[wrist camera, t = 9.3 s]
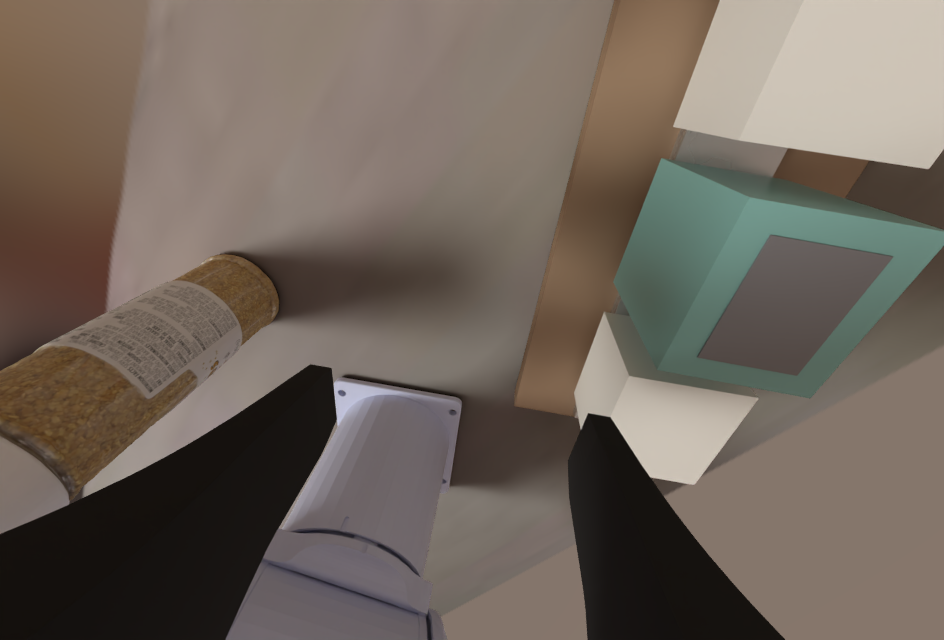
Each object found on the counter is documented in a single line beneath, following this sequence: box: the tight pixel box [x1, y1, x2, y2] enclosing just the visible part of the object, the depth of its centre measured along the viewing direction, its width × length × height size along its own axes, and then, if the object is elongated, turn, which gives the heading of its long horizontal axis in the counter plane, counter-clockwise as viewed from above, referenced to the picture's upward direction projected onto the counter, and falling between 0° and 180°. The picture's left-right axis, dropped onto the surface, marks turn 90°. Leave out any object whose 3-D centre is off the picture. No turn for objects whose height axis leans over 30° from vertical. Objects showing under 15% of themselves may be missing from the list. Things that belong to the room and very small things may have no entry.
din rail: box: [573, 129, 788, 418], centre depth 15 cm, size 21×4×1 cm, turn 173°
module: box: [613, 158, 944, 398], centre depth 12 cm, size 5×4×6 cm
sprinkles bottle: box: [0, 254, 279, 534], centre depth 15 cm, size 5×5×14 cm
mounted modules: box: [574, 0, 944, 485], centre depth 13 cm, size 18×4×4 cm, turn 173°
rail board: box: [514, 0, 870, 416], centre depth 16 cm, size 22×10×1 cm, turn 173°
